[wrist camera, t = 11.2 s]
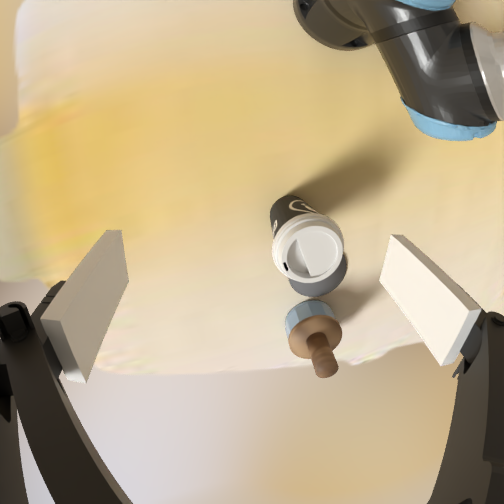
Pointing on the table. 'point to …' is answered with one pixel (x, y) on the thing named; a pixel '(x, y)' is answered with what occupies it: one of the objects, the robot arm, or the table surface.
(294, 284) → the mat
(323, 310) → the bowl
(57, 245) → the table surface
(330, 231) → the coffee cup
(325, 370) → the lid
